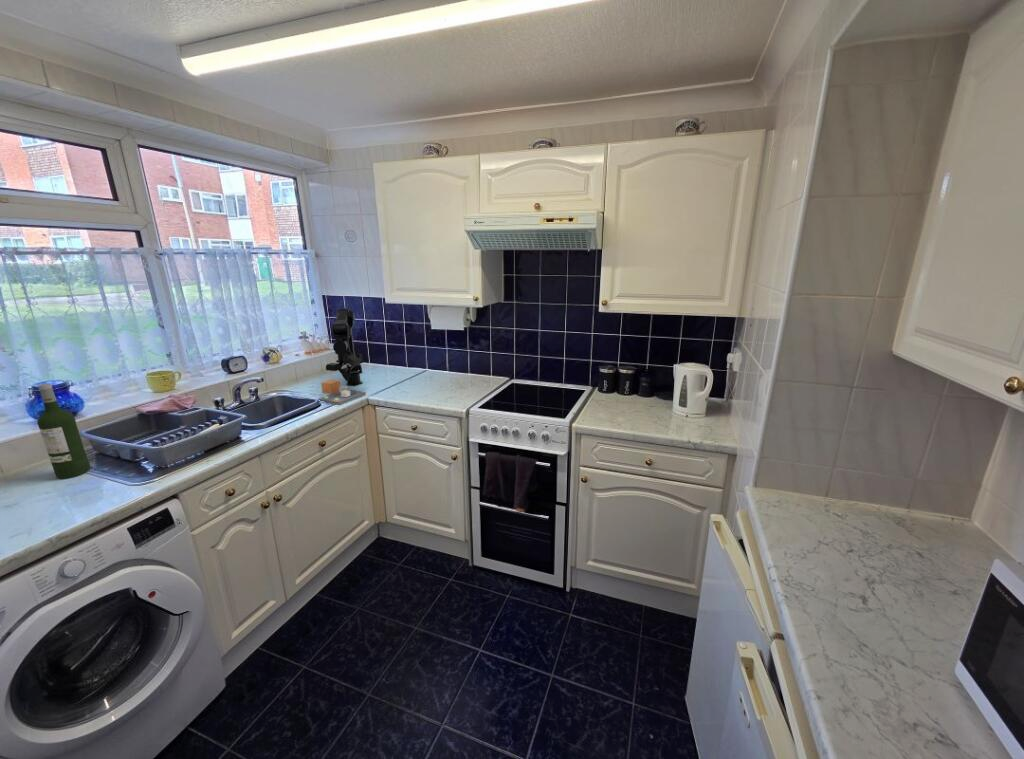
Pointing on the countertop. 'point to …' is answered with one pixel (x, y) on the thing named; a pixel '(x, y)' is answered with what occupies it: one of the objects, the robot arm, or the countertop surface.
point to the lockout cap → (330, 386)
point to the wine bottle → (61, 437)
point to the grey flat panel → (339, 400)
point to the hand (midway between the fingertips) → (347, 380)
